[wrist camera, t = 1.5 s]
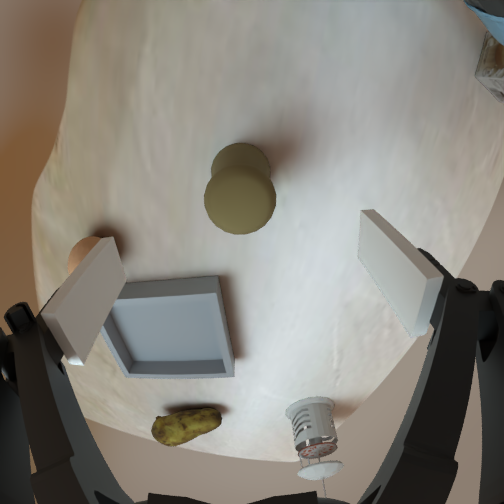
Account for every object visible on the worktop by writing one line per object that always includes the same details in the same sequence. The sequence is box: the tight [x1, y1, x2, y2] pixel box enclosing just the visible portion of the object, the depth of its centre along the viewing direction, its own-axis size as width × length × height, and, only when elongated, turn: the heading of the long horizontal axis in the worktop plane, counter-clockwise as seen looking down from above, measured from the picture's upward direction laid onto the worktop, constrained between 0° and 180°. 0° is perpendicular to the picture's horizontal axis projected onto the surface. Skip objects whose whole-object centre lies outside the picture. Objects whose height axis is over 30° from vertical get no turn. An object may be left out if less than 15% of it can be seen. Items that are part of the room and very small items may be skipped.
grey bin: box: [100, 276, 235, 379], centre depth 37 cm, size 17×15×4 cm
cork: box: [204, 143, 276, 234], centre depth 24 cm, size 6×6×11 cm
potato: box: [151, 408, 222, 446], centre depth 46 cm, size 8×13×8 cm, turn 83°
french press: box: [285, 397, 344, 498], centre depth 40 cm, size 10×12×25 cm
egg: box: [68, 236, 101, 275], centre depth 30 cm, size 5×5×7 cm
